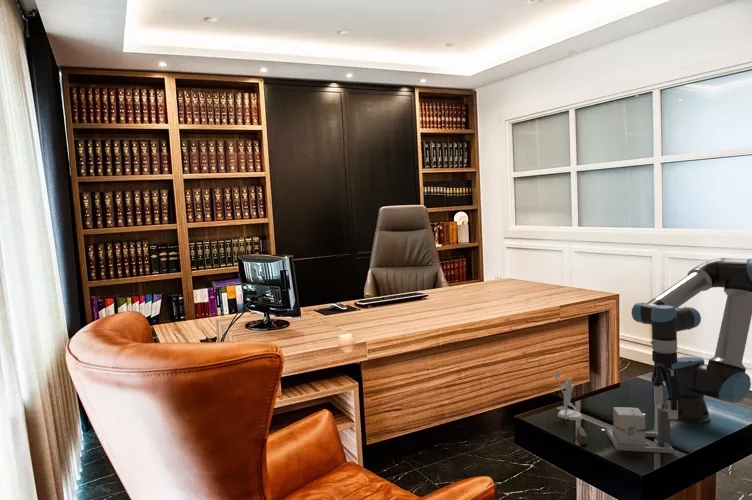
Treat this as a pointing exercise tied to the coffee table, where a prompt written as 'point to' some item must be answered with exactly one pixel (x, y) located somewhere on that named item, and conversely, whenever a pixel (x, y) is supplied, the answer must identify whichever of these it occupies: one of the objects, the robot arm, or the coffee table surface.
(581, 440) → the lane end block
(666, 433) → the sled
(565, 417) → the figurine
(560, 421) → the coffee table surface
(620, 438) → the ink box
